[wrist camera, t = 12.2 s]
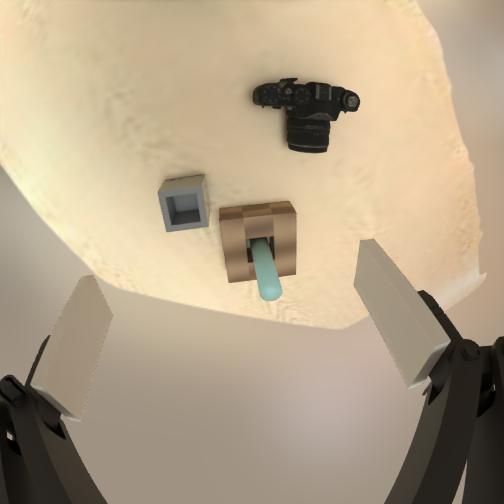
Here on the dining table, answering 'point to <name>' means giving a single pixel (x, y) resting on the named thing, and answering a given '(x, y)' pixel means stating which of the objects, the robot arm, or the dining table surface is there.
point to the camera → (307, 110)
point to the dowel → (265, 269)
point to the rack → (254, 226)
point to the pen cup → (184, 203)
